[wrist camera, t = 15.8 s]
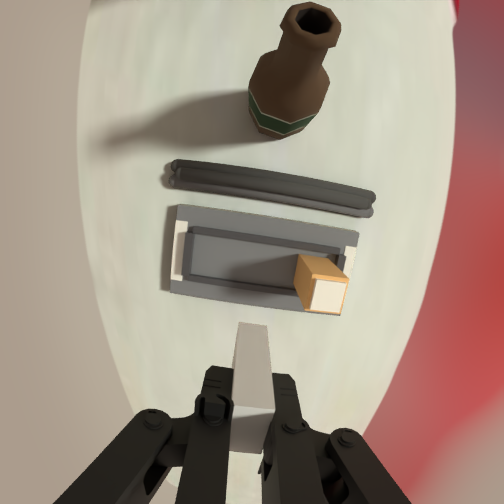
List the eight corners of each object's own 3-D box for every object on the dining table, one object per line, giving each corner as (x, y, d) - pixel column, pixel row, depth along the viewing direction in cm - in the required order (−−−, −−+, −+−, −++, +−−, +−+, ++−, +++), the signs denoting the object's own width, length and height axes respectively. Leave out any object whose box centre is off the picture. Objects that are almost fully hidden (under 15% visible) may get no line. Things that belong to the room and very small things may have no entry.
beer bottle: (280, 152, 37) (323, 100, 13) (236, 114, 36) (217, 19, 12) (318, 114, 36) (398, 33, 12) (276, 77, 35) (303, -37, 11)
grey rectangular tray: (181, 203, 38) (175, 205, 35) (354, 230, 39) (363, 234, 36) (173, 287, 41) (167, 296, 38) (336, 310, 42) (342, 319, 38)
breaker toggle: (298, 253, 38) (313, 275, 28) (328, 258, 38) (351, 280, 28) (293, 283, 38) (305, 312, 29) (321, 286, 39) (341, 316, 29)
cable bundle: (170, 186, 38) (163, 186, 35) (174, 159, 37) (167, 156, 34) (369, 218, 39) (378, 221, 36) (373, 192, 38) (383, 192, 35)
